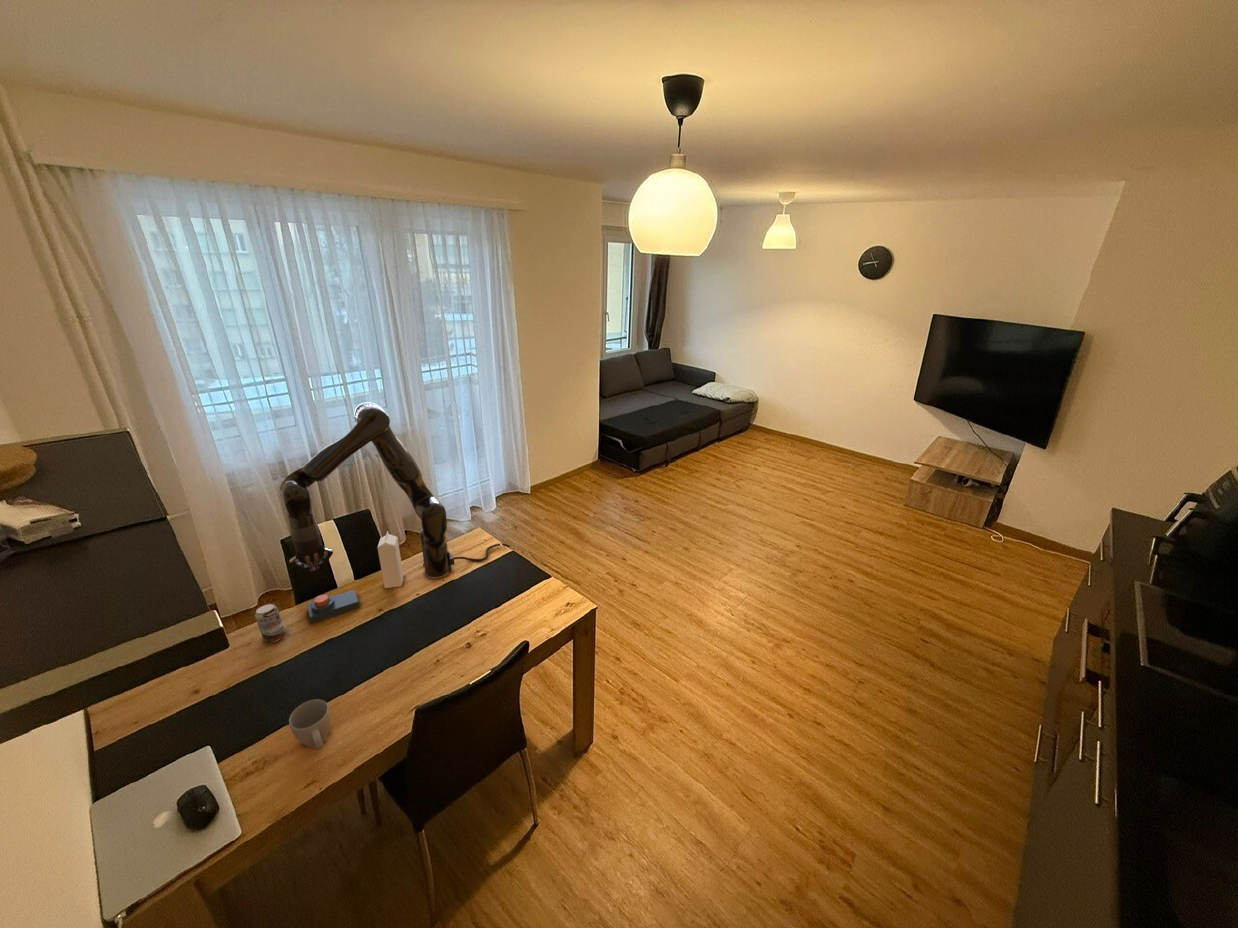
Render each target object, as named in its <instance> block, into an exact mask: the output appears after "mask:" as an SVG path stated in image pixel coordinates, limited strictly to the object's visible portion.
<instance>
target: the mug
mask: <svg viewBox="0 0 1238 928" xmlns="http://www.w3.org/2000/svg"><path fill="white" fill-rule="evenodd" d="M331 719H332V718H331V710H330V707H329V704H328V703H327V701H325V700H323V699H319V698H315V699H314V698H313V699H310V700H307V701H304V702H302V703H301V704H299V705H298V706H297V707H296V708H295V709H293V711H292V712H291V713H290V716H289V718H288V725H289V728H290V731H291V733H292V734H293V736H294V738H295V739H296V740H297V741H298V742H299V743H300V744H302V745H303V746H305V747H307V748H315V750H317V751H319V750H321V749H323V747H324V742H325V741H326V740H327V738H328V735H329V732H330V728H331Z"/></svg>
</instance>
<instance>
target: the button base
mask: <svg viewBox="0 0 1238 928" xmlns="http://www.w3.org/2000/svg"><path fill="white" fill-rule="evenodd" d="M327 596H328V599H329V603H328V604H326V605H325V606H322V607H317V606H316V604H315V599H313V600H312V601H311V602H310V603H308V604H306V608H307V611H308V616H309V620H310V623H311V624H314V623H317V622H320V621H323V620H326V619H327V618H328V619H329V618H331V617H335V616H337V615H341V614H344V613H347V612H349V611H351V610H356V609H358V608H360V602H359V599H358V596H357V593H356V591H355V589H352V590H348V591H346V592H342V593H339V594H336V595H333V596H331V595H327Z"/></svg>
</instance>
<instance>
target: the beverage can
mask: <svg viewBox="0 0 1238 928" xmlns="http://www.w3.org/2000/svg"><path fill="white" fill-rule="evenodd" d="M254 617H255V620H256V623H257V626H258V629H259V631H260V635H261V638H262V640H263V642H264V643H268V644H269V643H270V644H272V643H275V642H278V641H279V640H281V639H283V637H284V636H285V635H286V630H285V627H284V623H283V620H282V617H281V615H280V611H279V609H278V607H277V606H275V604H274V603H267V604H264V605H262V606H259V607H258V608H257V609H256V610H255V614H254Z"/></svg>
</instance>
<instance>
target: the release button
mask: <svg viewBox="0 0 1238 928" xmlns="http://www.w3.org/2000/svg"><path fill="white" fill-rule="evenodd" d="M328 596H329V595H328V594H320V595H318V596H316V597H315V598H314V600H315V604H316V606H317V607H322V606H325V605H326V604H328V603H329V599H328Z"/></svg>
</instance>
